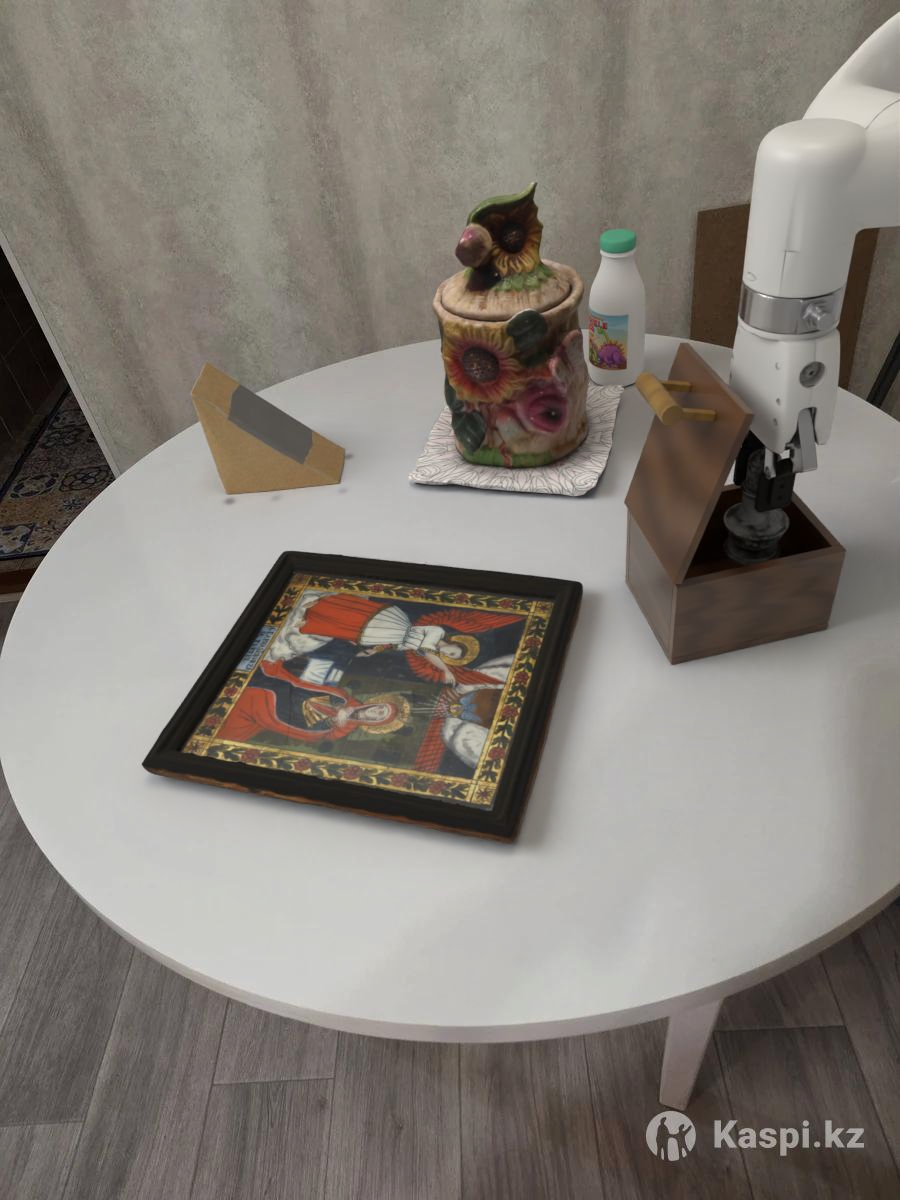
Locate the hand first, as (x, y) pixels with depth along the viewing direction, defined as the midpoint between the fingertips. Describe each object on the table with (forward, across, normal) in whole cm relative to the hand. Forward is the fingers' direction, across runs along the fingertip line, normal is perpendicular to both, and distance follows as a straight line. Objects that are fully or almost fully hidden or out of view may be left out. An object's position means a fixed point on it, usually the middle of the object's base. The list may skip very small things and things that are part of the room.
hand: (760, 493), depth 79 cm
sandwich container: (+13, +42, +45) cm, 63 cm away
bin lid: (-5, 0, +8) cm, 9 cm away
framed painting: (+13, 0, +38) cm, 40 cm away
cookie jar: (+13, +37, +14) cm, 42 cm away
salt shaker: (+7, 0, 0) cm, 7 cm away
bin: (+13, 0, +2) cm, 13 cm away
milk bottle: (+13, +49, -4) cm, 51 cm away
